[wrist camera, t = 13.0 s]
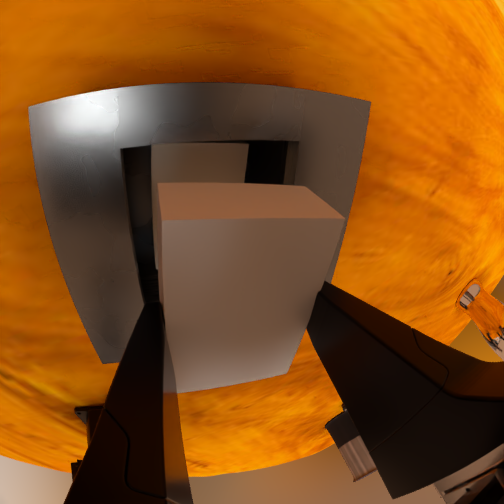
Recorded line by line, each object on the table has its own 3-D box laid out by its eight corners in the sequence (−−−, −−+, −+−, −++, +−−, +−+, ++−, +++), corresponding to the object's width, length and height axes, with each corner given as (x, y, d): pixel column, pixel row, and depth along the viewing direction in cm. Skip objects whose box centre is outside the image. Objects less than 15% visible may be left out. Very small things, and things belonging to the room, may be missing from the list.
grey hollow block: (274, 260, 19) (317, 323, 15) (106, 283, 16) (102, 363, 11) (295, 88, 13) (371, 101, 9) (76, 95, 10) (28, 106, 5)
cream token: (225, 242, 16) (235, 262, 15) (153, 247, 15) (155, 269, 13) (235, 135, 13) (249, 143, 11) (151, 135, 12) (151, 143, 10)
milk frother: (332, 428, 53) (361, 479, 42) (302, 425, 44) (337, 492, 32) (385, 392, 52) (419, 442, 40) (369, 381, 42) (413, 447, 30)
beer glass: (450, 314, 41) (500, 371, 29) (458, 291, 36) (516, 353, 25) (473, 293, 41) (522, 344, 29) (481, 269, 37) (537, 324, 25)
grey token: (266, 333, 11) (286, 373, 9) (163, 346, 10) (172, 393, 8) (305, 186, 8) (345, 218, 6) (157, 182, 6) (161, 220, 5)
